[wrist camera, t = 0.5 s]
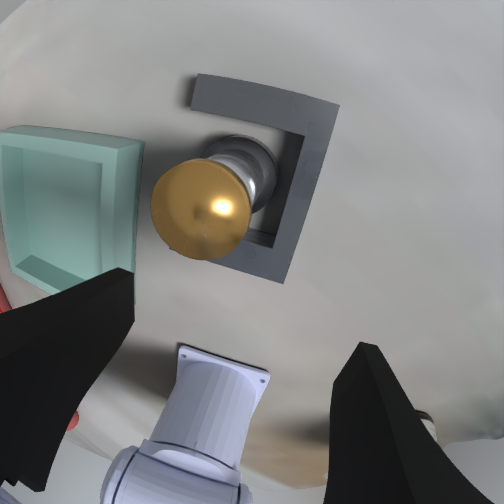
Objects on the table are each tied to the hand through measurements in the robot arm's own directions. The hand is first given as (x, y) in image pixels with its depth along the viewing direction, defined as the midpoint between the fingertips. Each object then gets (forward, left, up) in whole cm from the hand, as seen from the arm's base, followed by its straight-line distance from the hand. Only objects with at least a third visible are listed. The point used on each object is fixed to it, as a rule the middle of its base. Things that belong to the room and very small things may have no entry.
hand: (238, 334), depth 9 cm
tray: (-4, +16, -10) cm, 19 cm away
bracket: (+2, +3, -10) cm, 11 cm away
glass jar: (+2, +3, -10) cm, 11 cm away
